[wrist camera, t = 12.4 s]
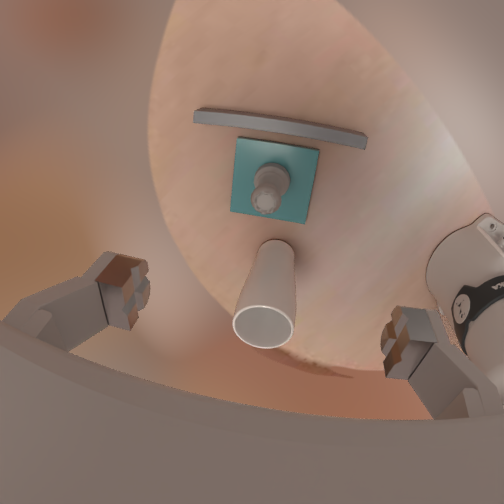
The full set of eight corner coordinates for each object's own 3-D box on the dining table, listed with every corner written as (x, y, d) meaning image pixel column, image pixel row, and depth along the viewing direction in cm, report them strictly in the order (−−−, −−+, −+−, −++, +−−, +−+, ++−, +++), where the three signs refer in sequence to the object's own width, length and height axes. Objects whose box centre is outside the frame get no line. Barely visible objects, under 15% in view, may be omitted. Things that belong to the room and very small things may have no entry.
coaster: (318, 149, 37) (319, 151, 36) (304, 220, 42) (304, 224, 41) (238, 136, 38) (236, 138, 37) (231, 208, 43) (230, 211, 42)
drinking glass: (283, 280, 48) (272, 357, 35) (244, 258, 47) (220, 331, 34) (309, 249, 44) (307, 324, 32) (268, 224, 43) (251, 294, 31)
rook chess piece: (280, 155, 37) (274, 175, 30) (296, 187, 39) (294, 214, 32) (248, 170, 39) (235, 193, 32) (264, 200, 40) (255, 229, 34)
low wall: (363, 132, 35) (367, 137, 32) (360, 144, 35) (365, 149, 33) (201, 107, 36) (194, 110, 34) (201, 119, 37) (193, 122, 34)
